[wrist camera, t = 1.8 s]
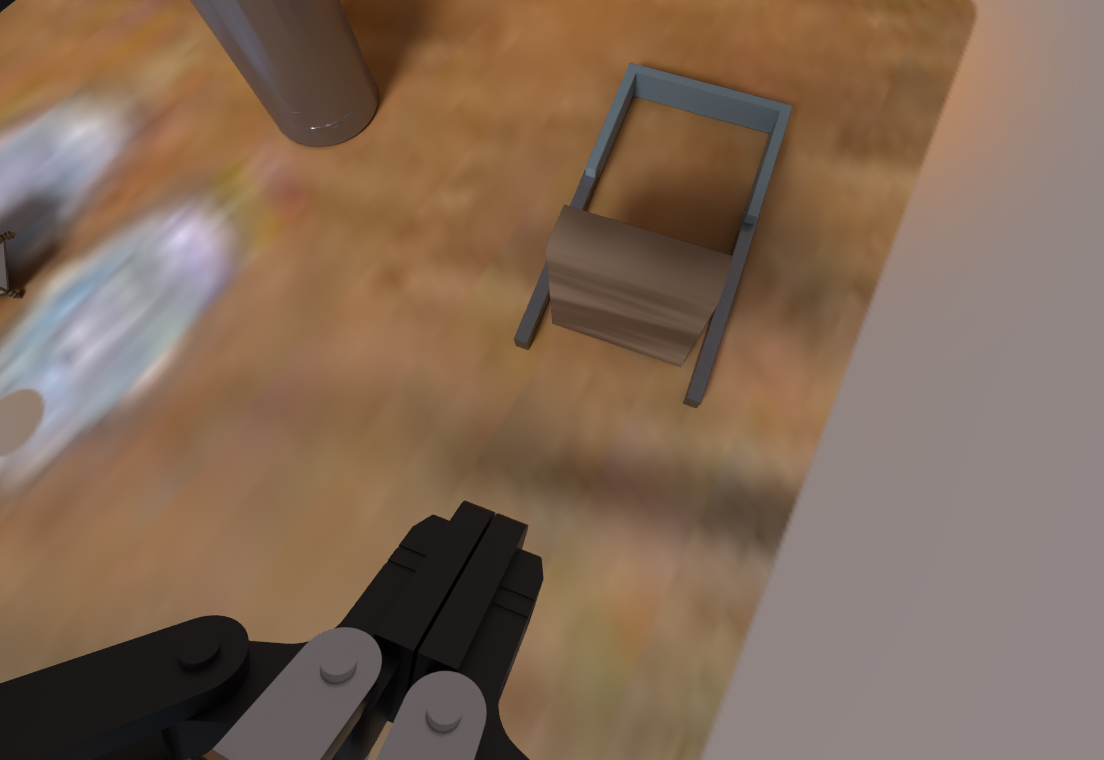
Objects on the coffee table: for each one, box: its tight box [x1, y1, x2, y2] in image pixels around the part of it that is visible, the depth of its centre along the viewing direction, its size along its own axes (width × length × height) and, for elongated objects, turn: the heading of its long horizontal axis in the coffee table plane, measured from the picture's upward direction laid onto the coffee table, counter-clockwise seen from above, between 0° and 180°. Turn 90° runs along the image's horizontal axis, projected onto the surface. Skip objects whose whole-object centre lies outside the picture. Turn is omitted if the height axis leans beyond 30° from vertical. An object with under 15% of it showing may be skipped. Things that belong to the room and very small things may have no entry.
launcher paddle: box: [546, 205, 733, 367], centre depth 36 cm, size 3×10×11 cm, turn 69°
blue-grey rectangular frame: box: [586, 63, 793, 231], centre depth 45 cm, size 11×14×2 cm
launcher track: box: [514, 167, 760, 408], centre depth 42 cm, size 16×14×2 cm
